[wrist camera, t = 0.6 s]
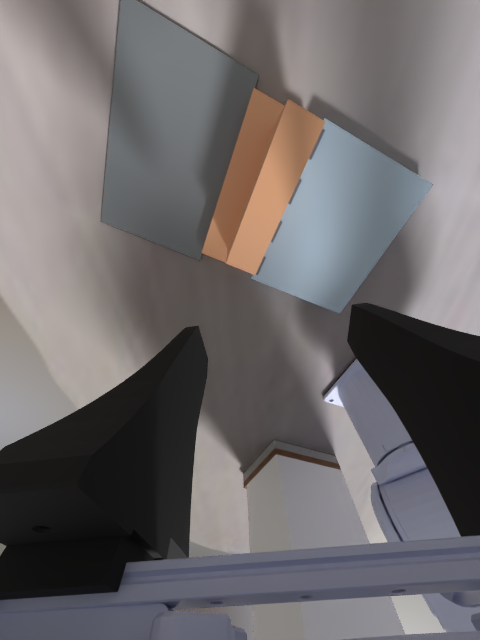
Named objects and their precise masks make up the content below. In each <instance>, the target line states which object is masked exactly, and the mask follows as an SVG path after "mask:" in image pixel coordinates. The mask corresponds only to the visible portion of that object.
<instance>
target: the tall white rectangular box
mask: <svg viewBox="0 0 480 640" xmlns="http://www.w3.org/2000/svg"><path fill="white" fill-rule="evenodd" d="M243 477H244V488H246V489H247V498H248V520H249V543H250V553H258V552H271V551H284V550H297V549H310V548H323V547H336V546H349V545H361V544H370V543H369V540H368V538H367V535H366V533H365V530H364V528H363V525H362V522H361V520H360V517H359V515H358V512H357V510H356V507H355V505H354V502H353V499H352V497H351V494H350V492H349V489H348V487H347V484H346V482H345V479H344V476H343V474H342V471H341V469H340V466H339V464H338V461H337V458H336V456H334V455H330V454H326V453H322V452H318V451H314V450H310V449H307V448H303V447H299V446H295V445H291V444H287V443H283V442H279V441H276V440H273V441H272V442H271V444H270V445H269V446H268V447H267V448H266V449H265V450H264V451H263V453H262V454H261V455H260V456H259V457H258V458H257V459H256V460H255V462H254V463H253V464H252V465H251V466H250V467H249V468H248V469H247V470H246V472H245V473H244V474H243ZM252 611H253V632H254V640H340V639H352V638H366V637H380V636H394V635H405V633H404V630H403V627H402V625H401V623H400V620H399V617H398V615H397V612H396V609H395V607H394V605H393V602H392V599H391V597H390V596H383V597H368V598H352V599H336V600H321V601H305V602H289V603H274V604H258V605H252Z"/></svg>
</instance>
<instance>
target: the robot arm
mask: <svg viewBox="0 0 480 640" xmlns="http://www.w3.org/2000/svg"><path fill="white" fill-rule="evenodd" d="M347 341H348V343H349V345H350V347H351V349H352V351H353V353H354V355H355V356H356V358H357V359H356V360H355V361H354V362H353V363H352V364H351V365H350V367H349V368H348V369H347V370H346V371H345V372H344V374H343V375H342V376H341V377H340V378H339V379H338V381H337V382H336V383H335V384H334V385H333V386H332V387H331V389H330V390H329V391H328V392H327V393H326V394H325V396H324V397H323V399H324V401H325V402H328V403H331V404H335V405H338V406H342V407H344V408H345V410H346V412H347V414H348V415H349V417H350V419H351V421H352V423H353V425H354V427H355V429H356V431H357V433H358V435H359V437H360V438H361V440H362V442H363V444H364V446H365V448H366V450H367V452H368V454H369V456H370V458H371V459H372V461H373V463H374V465H375V468H373V469H371V471H372V473H373V475H374V477H375V479H376V481H377V482H375V483H373V484H372V485H371V503H372V506H373V510H374V513H375V515H376V518H377V520H378V523H379V525H380V527H381V529H382V531H383V533H384V535H385V537H386V539H387V541H388V542H387V543H374V544H361V545H349V546H336V547H323V548H310V549H297V550H284V551H271V552H258V553H245V554H232V555H219V556H206V557H194V558H189V535H190V510H191V494H192V477H193V465H194V452H195V442H196V432H197V425H198V419H199V414H200V409H201V404H202V399H203V394H204V389H205V384H206V379H207V366H208V358H207V354H206V351H205V347H204V344H203V340H202V337H201V333H200V330H199V326H193V327H186V328H185V329H184V330H182V331H181V332H180V333H179V334H178V335H177V336H176V337H175V338H174V339H173V340H172V341H171V342H170V343H169V344H168V345H167V346H166V347H165V348H164V349H163V350H162V351H160V352H159V353H158V354H157V355H156V356H155V357H154V358H153V359H151V360H150V361H149V362H148V363H147V364H146V365H145V366H143V367H142V368H141V369H140V370H138V371H137V372H136V373H134V374H133V375H132V376H130V377H129V378H128V379H126V380H125V381H124V382H122V383H121V384H119V385H118V386H116V387H115V388H113V389H112V390H110V391H109V392H107V393H105V394H104V395H102V396H101V397H99V398H98V399H96V400H94V401H93V402H91V403H89V404H88V405H86V406H84V407H82V408H81V409H79V410H77V411H75V412H74V413H72V414H70V415H68V416H66V417H64V418H63V419H61V420H59V421H57V422H55V423H53V424H51V425H49V426H47V427H45V428H43V429H41V430H39V431H37V432H35V433H33V434H31V435H29V436H26V437H24V438H23V439H20V440H18V441H16V442H14V443H12V444H10V445H7V446H5V447H4V448H3V449H2V450H1V451H0V543H2V544H4V545H6V546H7V547H6V548H5V550H4V551H3V553H2V554H1V556H0V640H247V634H246V632H245V630H244V629H242V628H239V627H236V626H233V625H231V619H230V618H229V616H228V615H227V614H221V613H220V614H219V613H204V612H190V611H174V610H178V609H179V610H180V609H194V608H210V607H226V606H241V605H258V604H274V603H289V602H305V601H321V600H336V599H352V598H368V597H383V596H399V595H415V594H422V596H423V598H424V599H425V601H426V603H427V605H428V606H429V608H430V610H431V612H432V613H433V615H434V616H435V617H436V618H437V619H438V620H439V622H440V624H441V626H442V628H443V629H444V630H445V631H446V632H447V633H429V634H411V635H394V636H380V637H366V638H352V639H340V640H480V336H476V335H472V334H468V333H463V332H459V331H456V330H452V329H448V328H445V327H441V326H438V325H435V324H431V323H428V322H425V321H421V320H418V319H415V318H412V317H409V316H406V315H403V314H400V313H397V312H394V311H391V310H388V309H385V308H382V307H379V306H376V305H372V304H368V303H361V304H354V305H352V308H351V316H350V324H349V332H348V340H347Z"/></svg>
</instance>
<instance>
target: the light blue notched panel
mask: <svg viewBox="0 0 480 640" xmlns="http://www.w3.org/2000/svg"><path fill="white" fill-rule="evenodd" d="M322 120H324V121H325V124H324V126H323V129H322V131H321V133H320V135H319V137H318V140H317V142H316V144H315V146H314V148H313V150H312V153H311V155H310V157H309V159H308V161H307V164H306V166H305V168H304V170H303V172H302V174H301V177H300V179H299V181H298V183H297V185H296V187H295V190H294V192H293V194H292V196H291V198H290V201H289V203H288V205H287V207H286V209H285V211H284V214H283V216H282V218H281V220H280V222H279V225H278V227H277V229H276V231H275V233H274V235H273V238H272V240H271V242H270V244H269V246H268V248H267V251H266V253H265V255H264V257H263V259H262V262H261V264H260V266H259V268H258V270H257V272H256V275H253V274H251V273H250V275H251V279H253V280H255V281H258V282H260V283H263V284H265V285H268V286H270V287H273V288H275V289H278V290H281V291H283V292H286V293H288V294H291V295H293V296H296V297H298V298H301V299H303V300H306V301H308V302H311V303H313V304H316V305H319V306H321V307H324V308H326V309H329V310H331V311H334V312H336V313H339V314H340V313H341V312H342V310H343V309H344V307H345V306H346V305H347V303H348V302H349V301H350V299H351V298H352V296H353V295H354V294H355V292H356V291H357V289H358V288H359V287H360V285H361V284H362V282H363V281H364V280H365V278H366V277H367V276H368V274H369V273H370V271H371V270H372V269H373V267H374V266H375V264H376V263H377V262H378V260H379V259H380V258H381V256H382V255H383V253H384V252H385V251H386V249H387V248H388V246H389V245H390V244H391V242H392V241H393V240H394V238H395V237H396V235H397V234H398V233H399V231H400V230H401V228H402V227H403V226H404V224H405V223H406V222H407V220H408V219H409V217H410V216H411V215H412V213H413V212H414V210H415V209H416V208H417V206H418V205H419V204H420V202H421V201H422V199H423V198H424V197H425V195H426V194H427V192H428V191H429V190H430V188H431V187H432V185H433V184H432V183H430V182H428V181H427V180H425V179H423V178H422V177H420V176H418V175H417V174H415V173H414V172H412V171H410V170H409V169H407V168H405V167H404V166H402V165H401V164H399V163H397V162H396V161H394V160H392V159H391V158H389V157H387V156H386V155H384V154H383V153H381V152H379V151H378V150H376V149H374V148H373V147H371V146H369V145H368V144H366V143H365V142H363V141H361V140H360V139H358V138H356V137H355V136H353V135H352V134H350V133H348V132H347V131H345V130H343V129H342V128H340V127H338V126H337V125H335V124H334V123H332V122H330V121H329V120H327V119H325V118H324V119H322Z"/></svg>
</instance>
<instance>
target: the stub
mask: <svg viewBox="0 0 480 640" xmlns="http://www.w3.org/2000/svg"><path fill="white" fill-rule="evenodd" d="M324 124H325V121H324V120H322V119H320V118H319V117H317V116H316V115H314V114H312V113H311V112H309V111H307V110H306V109H304V108H302V107H301V106H299V105H297V104H296V103H294V102H293V101H291V100H289V99H288V100H287V102H286V104H285V106H284V105H282V104H281V103H279V102H277V101H276V100H274V99H272V98H271V97H269V96H267V95H266V94H264V93H262V92H261V91H259V90H257V89H256V88H254V89H253V92H252V95H251V98H250V101H249V104H248V108H247V111H246V114H245V117H244V120H243V123H242V126H241V130H240V133H239V136H238V139H237V142H236V145H235V149H234V152H233V155H232V158H231V161H230V164H229V167H228V171H227V174H226V177H225V180H224V183H223V186H222V190H221V193H220V196H219V199H218V202H217V205H216V208H215V212H214V215H213V218H212V221H211V224H210V227H209V231H208V234H207V237H206V240H205V243H204V246H203V249H202V253H203V254H205V255H208V256H210V257H213V258H215V259H218V260H220V261H223V262H225V263H226V264H228V265H231V266H233V267H236V268H238V269H241V270H243V271H246V272H248V273H251V274H253V275H256V272H257V270H258V268H259V266H260V264H261V262H262V259H263V257H264V255H265V253H266V251H267V248H268V246H269V244H270V242H271V240H272V238H273V235H274V233H275V231H276V229H277V227H278V225H279V222H280V220H281V218H282V216H283V214H284V211H285V209H286V207H287V205H288V203H289V201H290V198H291V196H292V194H293V192H294V190H295V187H296V185H297V183H298V181H299V179H300V177H301V174H302V172H303V170H304V168H305V166H306V164H307V161H308V159H309V157H310V155H311V153H312V150H313V148H314V146H315V144H316V142H317V140H318V137H319V135H320V133H321V131H322V129H323V126H324Z"/></svg>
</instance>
